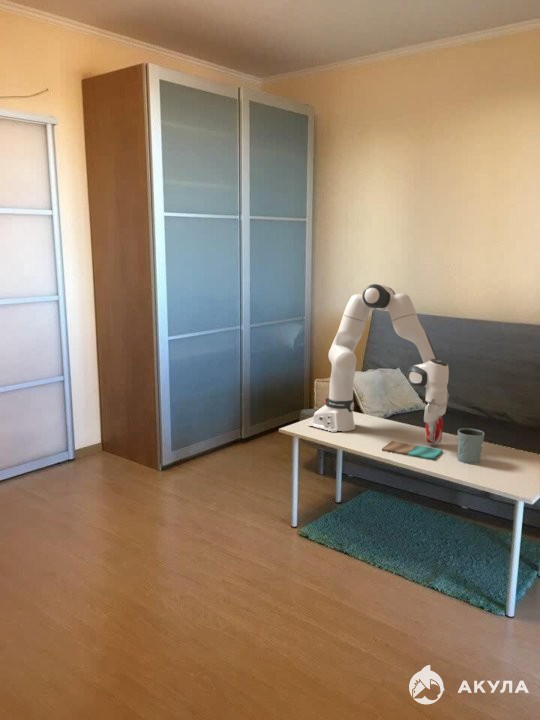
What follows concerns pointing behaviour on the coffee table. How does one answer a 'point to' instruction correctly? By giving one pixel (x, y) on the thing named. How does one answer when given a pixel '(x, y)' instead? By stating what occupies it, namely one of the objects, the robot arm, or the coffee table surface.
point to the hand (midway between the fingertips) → (434, 428)
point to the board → (412, 450)
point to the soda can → (434, 432)
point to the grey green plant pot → (470, 445)
